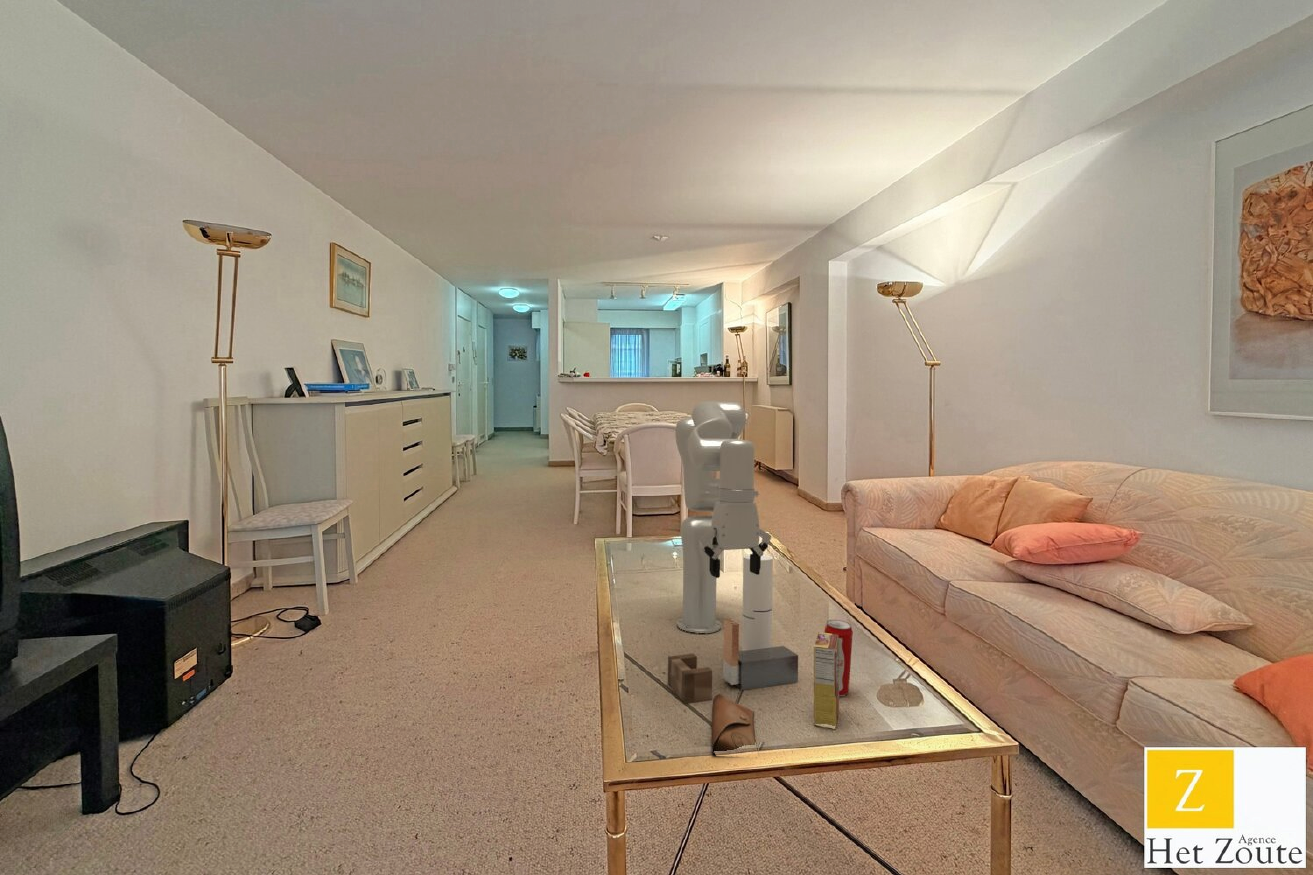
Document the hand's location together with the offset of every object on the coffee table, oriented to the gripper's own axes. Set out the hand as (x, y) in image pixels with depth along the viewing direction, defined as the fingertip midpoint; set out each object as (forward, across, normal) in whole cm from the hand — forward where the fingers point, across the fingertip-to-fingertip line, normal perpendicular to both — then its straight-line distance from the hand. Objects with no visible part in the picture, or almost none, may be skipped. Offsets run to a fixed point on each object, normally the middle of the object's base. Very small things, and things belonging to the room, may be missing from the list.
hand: (735, 574), depth 128 cm
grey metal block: (+24, -8, 0) cm, 26 cm away
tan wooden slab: (+23, -6, 0) cm, 24 cm away
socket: (+24, +10, -1) cm, 26 cm away
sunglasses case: (+25, +9, +18) cm, 32 cm away
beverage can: (+25, -20, +10) cm, 33 cm away
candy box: (+25, -10, +19) cm, 33 cm away
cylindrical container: (+25, -13, -12) cm, 30 cm away
